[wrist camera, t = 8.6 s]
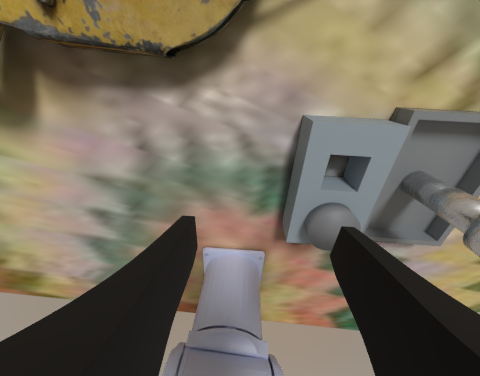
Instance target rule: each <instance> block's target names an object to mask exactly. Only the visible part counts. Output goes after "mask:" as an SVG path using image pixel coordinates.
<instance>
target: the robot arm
mask: <svg viewBox="0 0 480 376" xmlns="http://www.w3.org/2000/svg"><path fill="white" fill-rule="evenodd" d="M196 251H197V235H196V224H195V216H182V217H181V218H179V219H178V220H177V221H176V222H175V223H174V224H173V225H172V226H171V227H170V228H169V229H168V230H167V231H165V232H164V233H163V234H162V235H161V236H160V237H159V238H158V239H157V240H155V241H154V242H153V243H152V244H151V245H150V246H149V247H148V248H146V249H145V250H144V251H143V252H141V253H140V254H139V255H138V256H137V257H135V258H134V259H133V260H132V261H130V262H129V263H128V264H126V265H125V266H124V267H123V268H121V269H120V270H118V271H117V272H116V273H114V274H113V275H111V276H110V277H109V278H107V279H106V280H104V281H103V282H101V283H100V284H98V285H97V286H95V287H94V288H92V289H91V290H89V291H87V292H86V293H84V294H83V295H81V296H80V297H78V298H76V299H75V300H73V301H72V302H70V303H68V304H67V305H65V306H64V307H62V308H60V309H58V310H57V311H55V312H53V313H52V314H50V315H48V316H46V317H45V318H43V319H41V320H39V321H38V322H36V323H34V324H32V325H30V326H29V327H27V328H25V329H23V330H21V331H20V332H18V333H16V334H14V335H12V336H10V337H8V338H7V339H5V340H3V341H1V342H0V376H158V375H159V371H160V367H161V364H162V360H163V356H164V352H165V348H166V344H167V341H168V337H169V334H170V330H171V326H172V323H173V320H174V317H175V314H176V311H177V308H178V305H179V303H180V300H181V297H182V294H183V292H184V289H185V286H186V284H187V281H188V278H189V275H190V272H191V270H192V267H193V263H194V259H195V255H196ZM206 253H207V254H206ZM260 257H261V258H260ZM264 257H265V253H264V252H263V251H253V250H239V249H225V248H211V247H205V248H203V265H204V281H203V286H202V290H201V294H200V298H199V303H198V307H197V311H196V315H195V320H194V324H193V328H192V331H189V335H188V339H187V343H183V342H180V343H179V344H178V345H177V346H176V347H175V348H174V349H173V350H172V351H171V353H170V355H169V357H168V360H167V362H166V365H165V368H164V371H163V374H162V376H284V375H283V371H282V369H281V367H280V365H279V364H278V362H277V360H276V358H275V357H274V356H273V355H271V354H268V343H267V341H263V340H262V327H261V304H260V283H261V277H262V270H263V264H264ZM330 258H331V262H332V265H333V269H334V272H335V275H336V278H337V280H338V282H339V285H340V287H341V289H342V292H343V294H344V296H345V298H346V301H347V303H348V305H349V307H350V310H351V312H352V314H353V316H354V319H355V321H356V323H357V325H358V328H359V330H360V333H361V335H362V338H363V340H364V343H365V346H366V349H367V352H368V355H369V358H370V361H371V364H372V367H373V370H374V373H375V376H480V315H479V314H478V313H476V312H475V311H473V310H471V309H470V308H468V307H467V306H465V305H463V304H462V303H460V302H459V301H457V300H455V299H454V298H452V297H451V296H449V295H448V294H446V293H445V292H443V291H442V290H440V289H439V288H437V287H436V286H434V285H433V284H431V283H430V282H428V281H427V280H425V279H424V278H423V277H421V276H420V275H418V274H417V273H415V272H414V271H413V270H411V269H410V268H409V267H407V266H406V265H404V264H403V263H402V262H400V261H399V260H398V259H396V258H395V257H394V256H392V255H391V254H390V253H388V252H387V251H386V250H384V249H383V248H382V247H381V246H379V245H378V244H377V243H375V242H374V241H373V240H371V239H370V238H369V237H367V236H366V235H365V234H363V233H362V232H361V231H359V230H358V229H356V228H355V227H345V226H341V229H340V231H339V234H338V236H337V239H336V241H335V244H334V246H333V249H332V251H331V254H330Z"/></svg>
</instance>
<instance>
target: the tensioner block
mask: <svg viewBox="0 0 480 376" xmlns="http://www.w3.org/2000/svg"><path fill="white" fill-rule="evenodd" d="M410 128H411V127H410V126H407V125H403V124H399V123H396V122H392V121H388V120H383V119H365V118H347V117H329V116H311V115H303V119H302V124H301V129H300V134H299V139H298V144H297V149H296V154H295V159H294V165H293V170H292V175H291V180H290V185H289V190H288V195H287V200H286V205H285V210H284V215H283V220H282V226H283V231H284V235H285V240H286V242H290V243H305V244H313V245H314V246H315V247H317V248H319V249H322V250H332V249H333V246H334V244H335V241H336V239H337V236H338V234H339V231H340V229H341V226H345V227H355V228H356V229H358V230H359V231H361V232H362V230H363V228H364V225H365V223H366V221H367V219H368V217H369V215H370V213H371V211H372V209H373V206H374V204H375V202H376V200H377V198H378V196H379V194H380V192H381V190H382V187H383V185H384V183H385V181H386V179H387V177H388V175H389V173H390V171H391V168H392V166H393V164H394V162H395V160H396V158H397V156H398V154H399V152H400V149H401V147H402V145H403V143H404V141H405V139H406V137H407V135H408V133H409V130H410ZM330 155H347V156H350V157H349V160H348V163H347V166H346V169H345V172H344V175H343V177H334V176H324V175H325V172H326V168H327V165H328V161H329V158H330Z"/></svg>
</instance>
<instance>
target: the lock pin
mask: <svg viewBox="0 0 480 376" xmlns="http://www.w3.org/2000/svg"><path fill="white" fill-rule="evenodd" d="M401 189H402V190H403V191H404V192H405V193H407V194H408V195H410V196H411V197H412V198H414V199H415V200H417V201H418V202H420V203H421V204H422V205H424V206H425V207H427V208H428V209H430V210H431V211H433V212H434V213H435V214H437V215H438V216H440V217H441V218H443V219H444V220H445V221H447V222H448V223H450V224H451V225H453V226H454V227H455V228H457V229H458V230H460V231H461V232H463V233H464V236H463V243H464V245H465V246H466V247H467V248H469V249H470V250H471V251H473V252H474V253H475V254H476V255H478V256H479V257H480V199H479V198H477V197H475V196H473V195H470V194H468V193H466V192H464V191H462V190H460V189H458V188H456V187H454V186H452V185H450V184H448V183H446V182H444V181H442V180H440V179H438V178H436V177H434V176H432V175H430V174H428V173H426V172H424V171H415V172H412V173H410V174H408V175H407V176H406V177H405V178H404V179H403V180H402V182H401Z"/></svg>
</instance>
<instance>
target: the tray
mask: <svg viewBox="0 0 480 376" xmlns="http://www.w3.org/2000/svg"><path fill="white" fill-rule="evenodd" d="M391 121H392V122H396V123H399V124H403V125H407V126H410V127H411V128H410V130H409V133H408V135H407V137H406V139H405V141H404V143H403V145H402V147H401V149H400V152H399V154H398V156H397V158H396V160H395V162H394V164H393V166H392V168H391V171H390V173H389V175H388V177H387V179H386V181H385V183H384V185H383V187H382V190H381V192H380V194H379V196H378V198H377V200H376V202H375V204H374V206H373V209H372V211H371V213H370V215H369V217H368V219H367V221H366V223H365V225H364V228H363V230H362V233H363V234H365V235H366V236H367V237H369V238H370V239H371V240H373V241H374V242H388V243H403V244H418V245H432V246H440V245H441V244H442V243H443V241H444V240H445V239H446V238H447V236H448V235H449V234H450V232H451V231H452V230H453V229H454V226H453V225H451V224H450V223H448V222H447V221H445V220H444V219H443V218H441V217H440V216H438V215H437V214H435V213H434V212H433V211H431V210H430V209H428V208H427V207H425V206H424V205H422V204H421V203H420V202H418V201H417V200H415V199H414V198H412V197H411V196H410V195H408V194H407V193H405V192H404V191H403V190H402V189H401V182H402V180H403V179H404V178H405V177H406V176H407V175H408V174H410V173H412V172H415V171H424V172H426V173H428V174H430V175H432V176H434V177H436V178H438V179H440V180H442V181H444V182H446V183H448V184H450V185H452V186H454V187H456V188H458V189H460V190H462V191H464V192H466V193H468V194H470V195H473V196H475V197H477V198H478V196H479V195H480V112H473V111H454V110H436V109H417V108H399V107H396V110H395V112H394V114H393V117H392V119H391Z"/></svg>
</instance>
